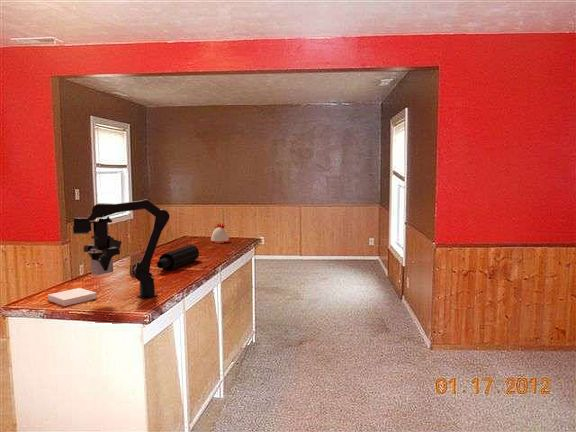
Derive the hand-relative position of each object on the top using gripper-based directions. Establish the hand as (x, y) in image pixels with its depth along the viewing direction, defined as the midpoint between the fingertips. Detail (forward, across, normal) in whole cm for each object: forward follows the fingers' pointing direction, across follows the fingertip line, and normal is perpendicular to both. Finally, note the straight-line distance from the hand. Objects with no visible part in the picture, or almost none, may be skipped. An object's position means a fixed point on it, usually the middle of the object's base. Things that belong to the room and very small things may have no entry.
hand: (102, 269), depth 190 cm
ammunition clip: (+13, +35, -40) cm, 55 cm away
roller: (+13, +30, -64) cm, 72 cm away
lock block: (+1, 0, 0) cm, 1 cm away
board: (+13, +12, +7) cm, 19 cm away
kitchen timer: (+13, +76, -143) cm, 163 cm away
